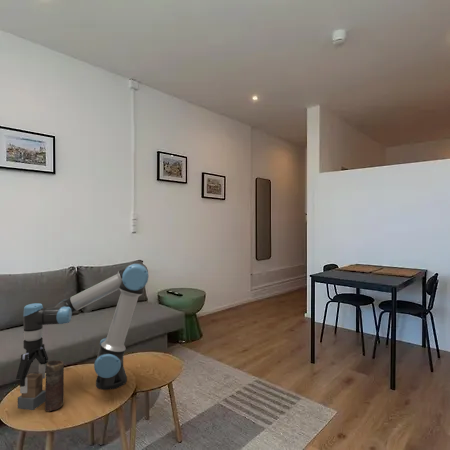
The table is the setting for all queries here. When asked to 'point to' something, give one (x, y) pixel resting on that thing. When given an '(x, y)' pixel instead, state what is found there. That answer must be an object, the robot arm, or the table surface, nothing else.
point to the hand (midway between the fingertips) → (33, 385)
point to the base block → (31, 401)
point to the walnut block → (33, 385)
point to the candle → (54, 385)
